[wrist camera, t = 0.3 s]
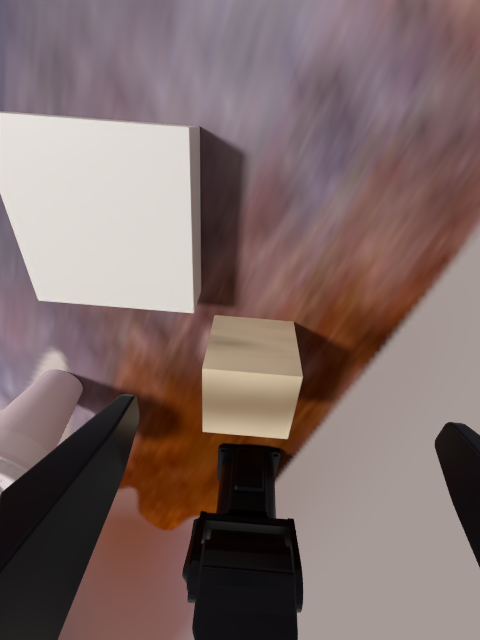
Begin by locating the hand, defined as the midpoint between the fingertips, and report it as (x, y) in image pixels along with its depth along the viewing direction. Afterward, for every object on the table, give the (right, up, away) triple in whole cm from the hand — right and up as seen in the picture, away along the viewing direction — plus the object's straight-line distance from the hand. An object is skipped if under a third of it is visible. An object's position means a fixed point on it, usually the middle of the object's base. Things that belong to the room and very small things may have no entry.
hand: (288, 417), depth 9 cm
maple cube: (-1, +1, +16) cm, 16 cm away
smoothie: (-18, -3, +19) cm, 26 cm away
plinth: (-9, +10, +10) cm, 17 cm away
